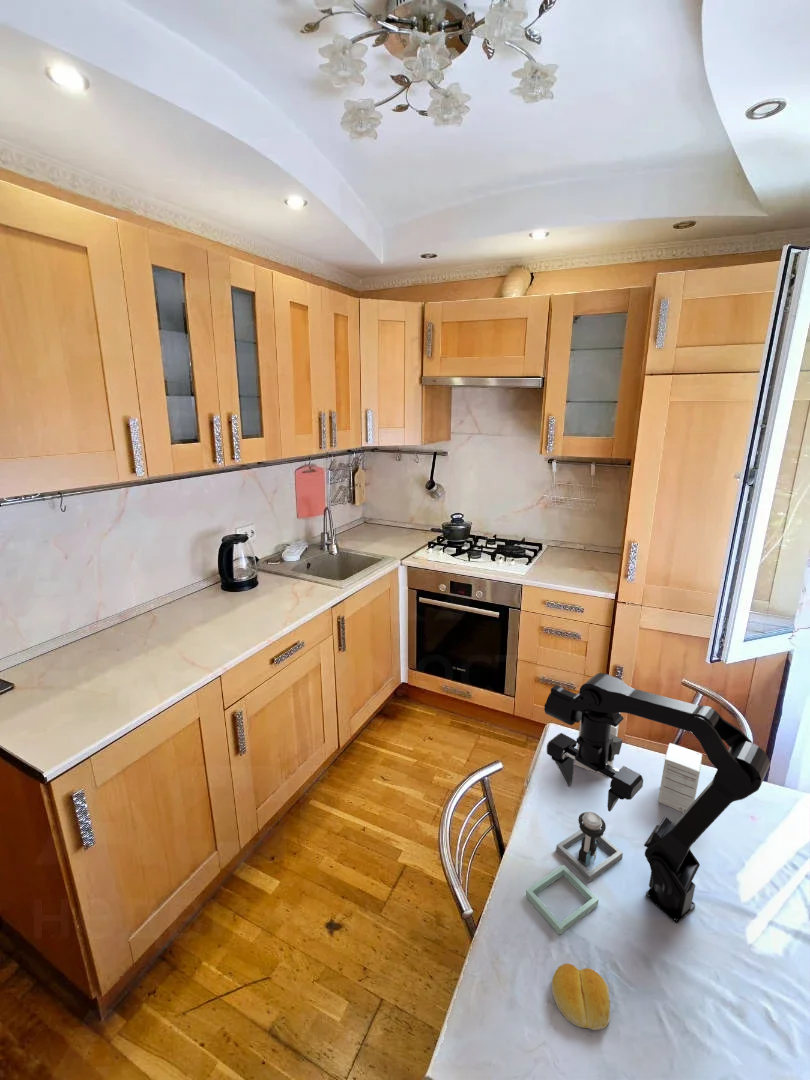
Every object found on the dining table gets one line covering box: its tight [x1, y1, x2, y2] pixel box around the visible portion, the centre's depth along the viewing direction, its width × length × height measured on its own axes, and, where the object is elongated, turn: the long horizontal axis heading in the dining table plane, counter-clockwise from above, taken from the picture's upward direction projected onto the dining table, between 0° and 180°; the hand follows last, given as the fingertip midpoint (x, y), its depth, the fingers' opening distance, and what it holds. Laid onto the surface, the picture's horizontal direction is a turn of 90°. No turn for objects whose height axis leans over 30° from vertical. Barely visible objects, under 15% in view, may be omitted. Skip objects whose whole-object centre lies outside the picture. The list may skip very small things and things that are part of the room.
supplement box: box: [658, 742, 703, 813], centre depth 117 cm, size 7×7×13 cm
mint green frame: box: [525, 864, 599, 936], centre depth 94 cm, size 9×11×2 cm
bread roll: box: [551, 963, 612, 1031], centre depth 78 cm, size 8×9×4 cm
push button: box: [577, 811, 606, 867], centre depth 103 cm, size 7×5×10 cm
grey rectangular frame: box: [555, 829, 624, 883], centre depth 104 cm, size 9×11×2 cm
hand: (589, 797), depth 103 cm, fingers open, 9 cm apart
